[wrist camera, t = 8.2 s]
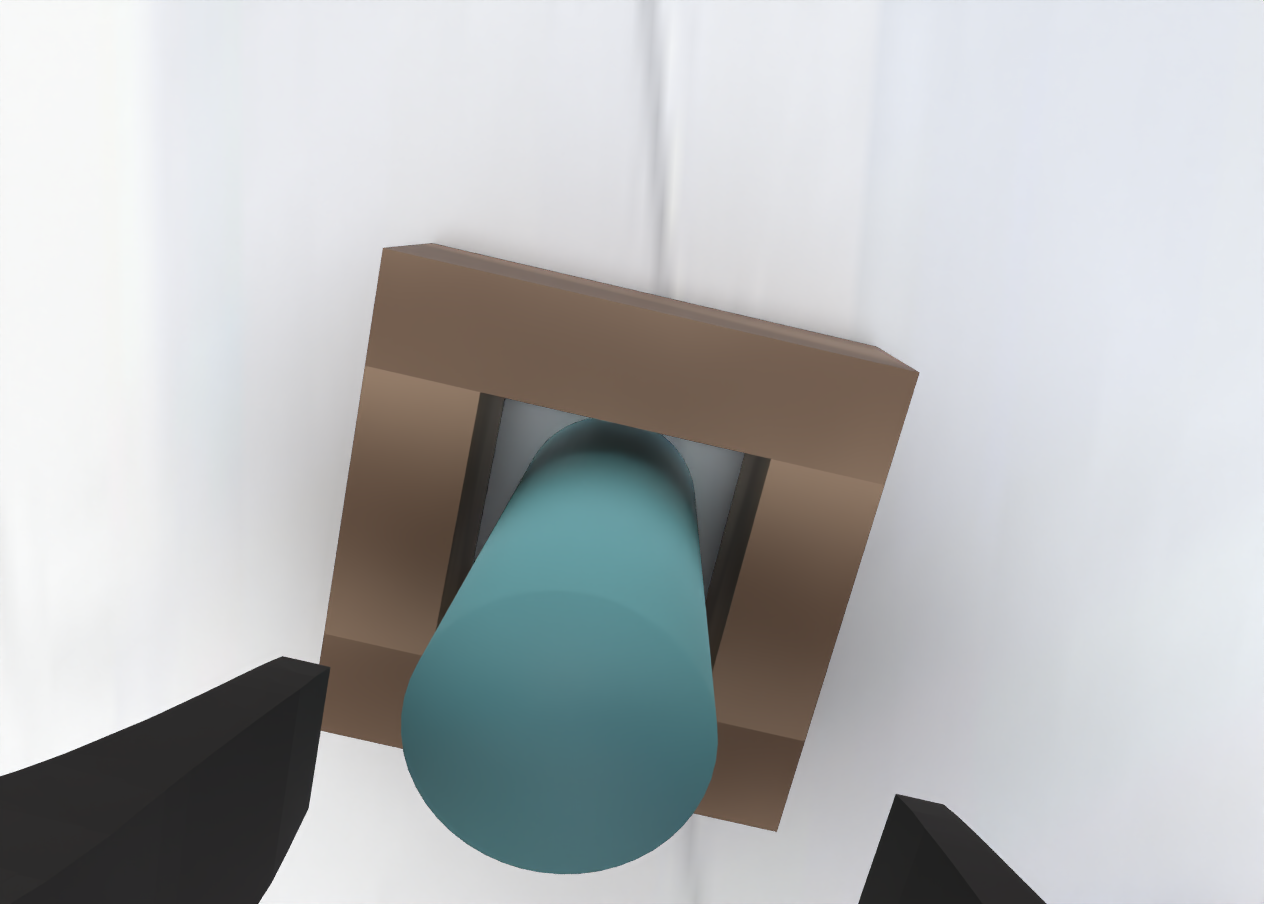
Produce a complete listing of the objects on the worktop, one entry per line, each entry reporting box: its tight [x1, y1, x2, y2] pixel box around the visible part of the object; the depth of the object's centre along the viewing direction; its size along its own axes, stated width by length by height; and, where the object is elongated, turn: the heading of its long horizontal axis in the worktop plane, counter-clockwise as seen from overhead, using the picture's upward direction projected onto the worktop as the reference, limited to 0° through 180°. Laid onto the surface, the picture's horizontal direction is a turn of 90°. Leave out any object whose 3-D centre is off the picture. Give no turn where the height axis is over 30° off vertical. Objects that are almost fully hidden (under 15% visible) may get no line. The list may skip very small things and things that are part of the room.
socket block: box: [319, 243, 919, 832], centre depth 19 cm, size 10×10×4 cm
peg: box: [401, 418, 718, 874], centre depth 16 cm, size 4×4×10 cm
